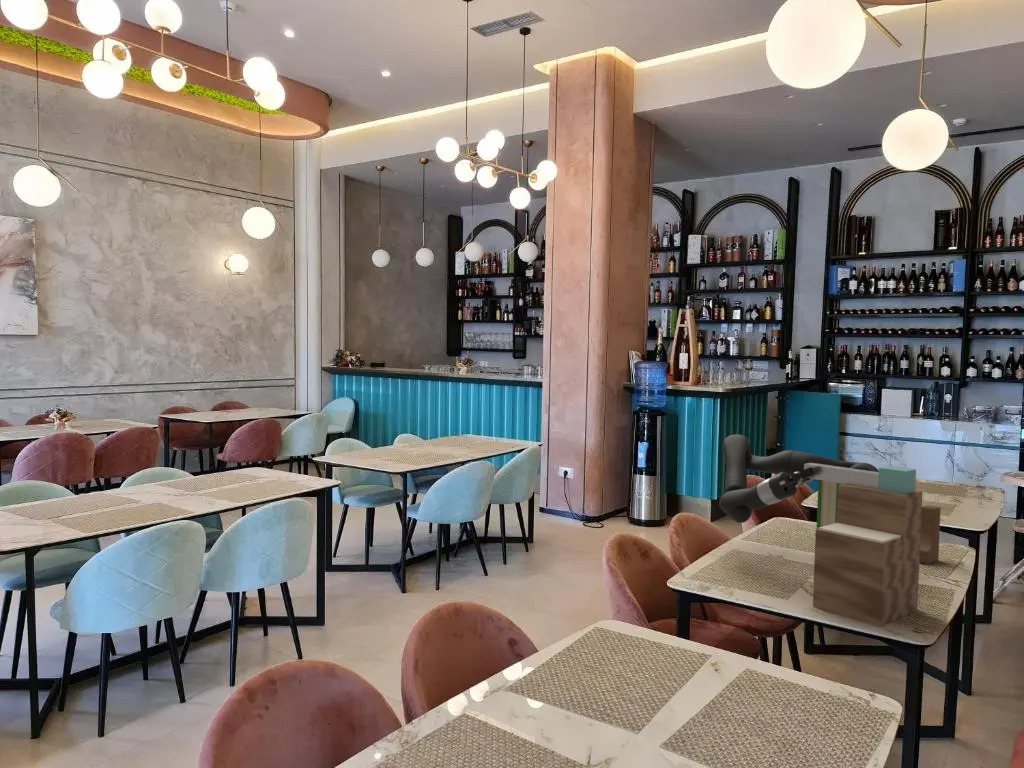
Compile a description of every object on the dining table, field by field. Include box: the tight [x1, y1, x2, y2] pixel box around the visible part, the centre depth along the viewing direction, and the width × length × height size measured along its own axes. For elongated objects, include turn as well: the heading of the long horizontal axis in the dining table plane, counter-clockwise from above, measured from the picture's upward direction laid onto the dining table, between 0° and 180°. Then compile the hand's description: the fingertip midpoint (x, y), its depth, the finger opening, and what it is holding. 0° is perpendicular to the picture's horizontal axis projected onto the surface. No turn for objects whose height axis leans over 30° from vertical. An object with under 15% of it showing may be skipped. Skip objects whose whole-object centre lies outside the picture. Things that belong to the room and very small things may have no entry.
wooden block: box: [919, 504, 941, 565], centre depth 244 cm, size 9×4×18 cm, turn 128°
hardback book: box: [816, 481, 841, 530], centre depth 273 cm, size 18×7×24 cm, turn 138°
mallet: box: [804, 463, 917, 494], centre depth 205 cm, size 6×29×6 cm, turn 38°
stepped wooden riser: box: [812, 484, 923, 628], centre depth 198 cm, size 21×18×32 cm
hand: (821, 468), depth 213 cm, fingers open, 8 cm apart
